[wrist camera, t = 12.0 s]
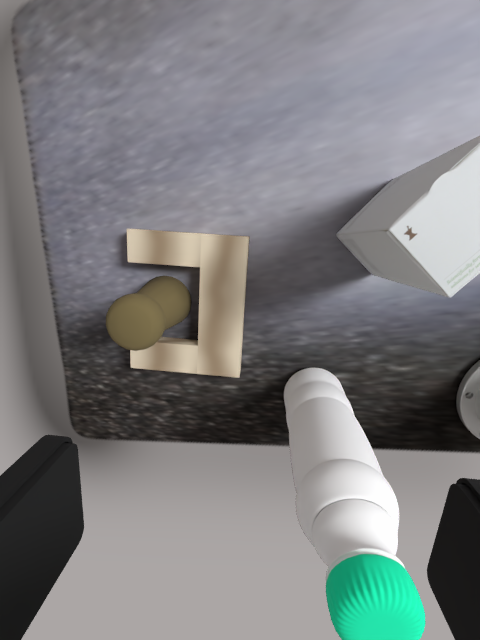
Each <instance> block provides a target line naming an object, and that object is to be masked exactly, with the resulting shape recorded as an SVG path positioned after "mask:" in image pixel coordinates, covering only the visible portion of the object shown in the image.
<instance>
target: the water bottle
mask: <svg viewBox="0 0 480 640" xmlns="http://www.w3.org/2000/svg"><path fill="white" fill-rule="evenodd" d="M284 403H285V408H286V420H287V426H288V429H289V445H290V456H291V465H292V471H293V478H294V484H295V488H296V493H297V495H296V512H297V517H298V520H299V523H300V526H301V528H302V530H303V532H304V534H305V535H306V537H307V538H308V539H309V541H310V542H311V543H312V545H313V546H314V547H315V549H316V551H317V553H318V555H319V556H320V558H321V559H322V560H323V561H324V562H325V563H326V565H327V566H328V569H327V573H326V596H327V602H328V608H329V612H330V616H331V620H332V622H333V625H334V627H335V630H336V632H337V633H338V634H339V636H340V637H341V639H342V640H419V639H420V638H421V636H422V633H423V632H424V627H425V612H424V608H423V605H422V602H421V599H420V596H419V593H418V591H417V589H416V587H415V584H414V582H413V580H412V579H411V577H410V575H409V574H408V572H407V571H406V569H405V567H404V565H403V564H402V562H401V561H400V560H399V559H398V558H397V557H396V556H395V555H396V551H397V546H398V537H397V533H398V524H399V507H398V503H397V499H396V496H395V494H394V491H393V490H392V487H391V486H390V484H389V483H388V481H387V480H386V479H385V478H384V476H383V474H382V471H381V468H380V466H379V463H378V461H377V458H376V456H375V454H374V451H373V449H372V447H371V445H370V443H369V441H368V439H367V437H366V435H365V433H364V431H363V429H362V427H361V426H360V424H359V422H358V421H357V419H356V417H355V416H354V412H353V409H352V407H351V404H350V402H349V401H348V399H347V397H346V396H345V393H344V390H343V388H342V386H341V384H340V382H339V380H338V379H337V378H336V377H335V376H334V375H333V374H332V373H330V372H329V371H327V370H324V369H321V368H306V369H303V370H300V371H298V372H297V373H295V374H294V375H293V376H292V377H291V378H290V379H289V380H288V382H287V383H286V386H285V389H284Z"/></svg>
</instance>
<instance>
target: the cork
mask: <svg viewBox="0 0 480 640" xmlns="http://www.w3.org/2000/svg"><path fill="white" fill-rule="evenodd" d="M190 309H191V297H190V293H189V291H188V290H187V288H186V286H185V285H184V284H183V283H182V282H181V281H179V280H177V279H175V278H173V277H169V276H159V277H156V278H154V279H152V280H150V281H149V282H148V283H147V284H146V285H145V286H144V287H143V288H142V289H141V290H139V291H138V292H137V293H134V294H128V295H125V296H122V297H121V298H119V299H117V300H116V301H115V302H114V303H113V304H112V305H111V306H110V308H109V310H108V312H107V315H106V327H107V330H108V333H109V335H110V336H111V338H112V340H113V341H115V342H116V343H117V344H118V345H119V346H121V347H123V348H125V349H127V350H133V351H138V350H144V349H147V348H149V347H151V346H153V345H154V344H155V343H156V342H157V341H158V340H159V339H160V338H161V337H162V334H163V332H164V330H166V329H168V328H170V327H172V326H174V325H176V324H178V323H180V322H182V321H183V320H184V319H185V318H186V317H187V316H188V313H189V311H190Z"/></svg>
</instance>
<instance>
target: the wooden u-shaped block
mask: <svg viewBox="0 0 480 640" xmlns="http://www.w3.org/2000/svg"><path fill="white" fill-rule="evenodd" d="M248 251H249V237H248V236H232V235H217V234H202V233H187V232H171V231H156V230H141V229H127V255H128V262H133V263H147V264H161V265H175V266H189V267H200V288H199V322H198V340H192V339H180V338H168V337H161V338H160V339H159V340H158V341H157V342H156V343H155V344H154V345H153V346H151V347H149V348H147V349H144V350H138V351H133V350H130V359H131V368H138V369H149V370H160V371H172V372H183V373H194V374H205V375H216V376H227V377H238V378H239V376H240V369H241V354H242V340H243V325H244V310H245V296H246V281H247V266H248Z"/></svg>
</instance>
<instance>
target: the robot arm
mask: <svg viewBox="0 0 480 640" xmlns="http://www.w3.org/2000/svg"><path fill="white" fill-rule="evenodd" d="M456 405H457V412H458V414H459V417H460V420H461V421H462V422H463V424H464V425H465V427H466V428H467V429H468V430H469V431H470V432H471V433H472V434H473V435H475V436H476V437H477V438H479V439H480V360H479V361H478V362H477V363H476V364H475V365H473V366H472V367H471V368H470V370H469V371H468V372H467V373H466V375H465V376H464V378H463V380H462V382H461V383H460V386H459V389H458V392H457V399H456ZM83 530H84V520H83V508H82V496H81V484H80V471H79V459H78V449H77V445H76V444H73V443H72V440H71V438H69V437H64V436H54V435H45V436H44V437H42V438H41V439H40V440H39V441H38V442H37V443H36V444H34V445H33V446H32V447H31V448H30V449H29V450H28V451H27V452H26V453H25V454H23V455H22V456H21V457H20V458H19V459H18V460H17V461H16V462H15V463H14V464H13V465H11V467H9V468H8V469H7V470H6V471H5V472H4V473H3V474H2V475H1V476H0V640H21V639H22V637H23V635H24V634H25V632H26V630H27V629H28V627H29V625H30V624H31V622H32V620H33V619H34V617H35V615H36V614H37V612H38V610H39V609H40V607H41V605H42V604H43V602H44V600H45V599H46V597H47V595H48V594H49V592H50V590H51V589H52V587H53V585H54V584H55V582H56V580H57V579H58V577H59V576H60V574H61V572H62V571H63V569H64V567H65V566H66V564H67V562H68V561H69V559H70V557H71V556H72V554H73V552H74V550H75V549H76V547H77V545H78V544H79V542H80V540H81V537H82V534H83ZM427 575H428V580H429V584H430V586H431V588H432V591H433V593H434V595H435V597H436V600H437V602H438V604H439V606H440V608H441V610H442V612H443V615H444V617H445V619H446V621H447V623H448V625H449V627H450V630H451V632H452V634H453V636H454V638H455V640H480V480H477V479H467V478H460V479H459V480H458V481H457V483H456V484H452V485H451V486H450V488H449V492H448V495H447V499H446V503H445V506H444V510H443V514H442V517H441V521H440V524H439V527H438V531H437V535H436V538H435V542H434V545H433V549H432V553H431V556H430V559H429V563H428V568H427Z"/></svg>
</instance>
